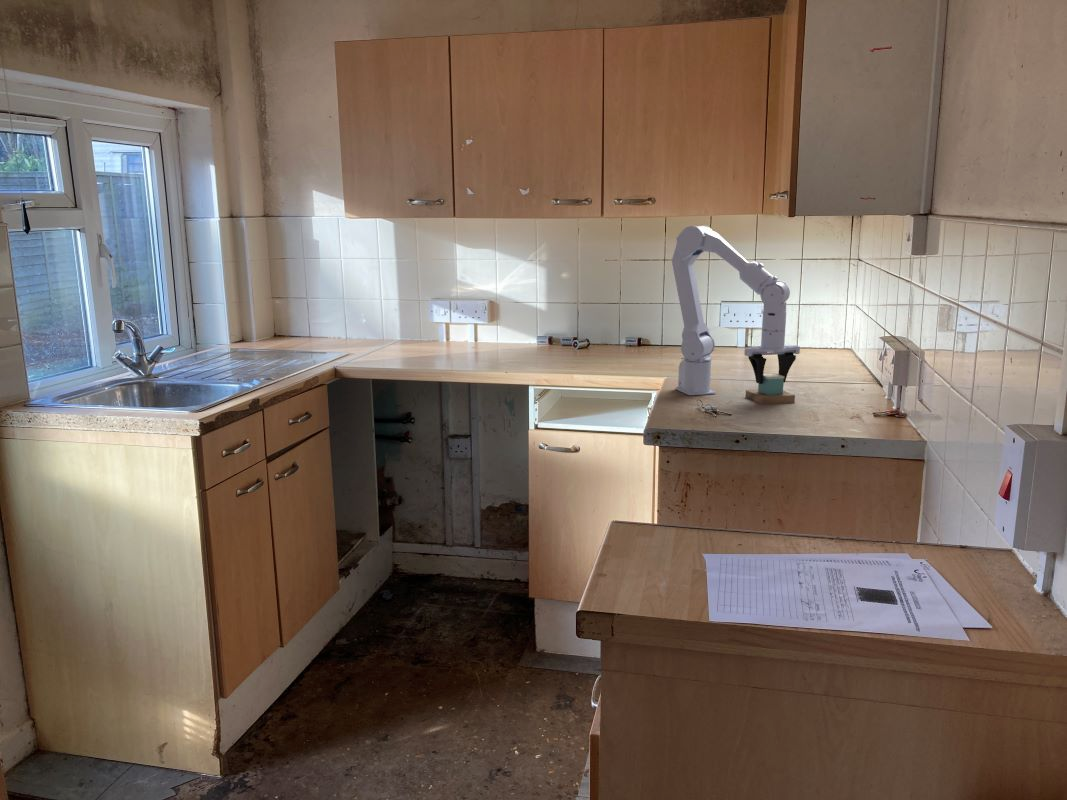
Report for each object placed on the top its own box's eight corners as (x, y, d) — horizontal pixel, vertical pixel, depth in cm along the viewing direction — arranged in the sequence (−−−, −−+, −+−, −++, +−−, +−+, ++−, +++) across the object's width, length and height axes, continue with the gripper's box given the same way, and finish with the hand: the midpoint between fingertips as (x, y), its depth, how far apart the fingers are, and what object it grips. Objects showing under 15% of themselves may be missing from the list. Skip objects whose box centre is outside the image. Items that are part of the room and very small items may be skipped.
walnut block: (745, 399, 217) (745, 390, 217) (776, 397, 219) (776, 388, 219) (762, 406, 209) (762, 397, 208) (794, 404, 211) (795, 395, 210)
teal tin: (757, 391, 215) (758, 374, 214) (773, 390, 216) (774, 373, 215) (766, 395, 210) (767, 377, 209) (783, 394, 211) (784, 376, 210)
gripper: (755, 333, 205) (752, 387, 207) (807, 330, 208) (804, 383, 211) (741, 329, 211) (739, 381, 214) (792, 327, 215) (789, 378, 218)
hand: (770, 382), depth 213 cm, fingers open, 6 cm apart
